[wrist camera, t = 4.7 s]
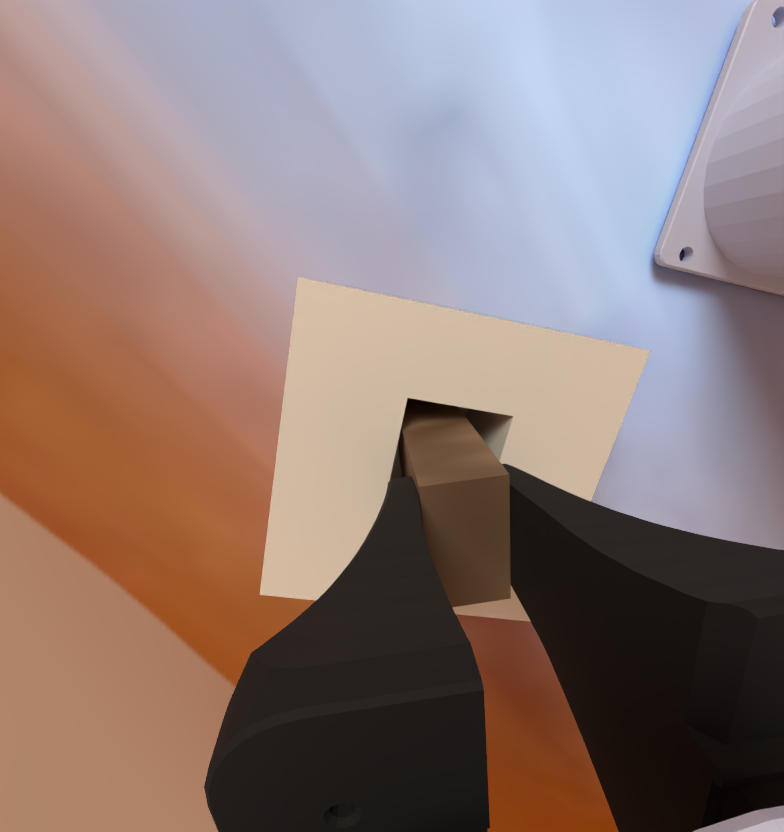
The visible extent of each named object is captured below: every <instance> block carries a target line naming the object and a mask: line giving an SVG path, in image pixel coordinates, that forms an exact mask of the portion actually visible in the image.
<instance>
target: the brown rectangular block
mask: <svg viewBox="0 0 784 832" xmlns="http://www.w3.org/2000/svg"><path fill="white" fill-rule="evenodd" d="M398 447H399V456H400V465H401V473H402V477H409V476H412V478H413V480H414V483H415V485H416V488H417V491H418V494H419V502H420V511H421V520H422V527H423V532H424V535H425V538H426V541H427V544H428V547H429V551H430V554H431V556H432V559H433V562H434V565H435V567H436V570H437V573H438V575H439V578H440V580H441V583H442V585H443V588H444V590H445V592H446V595H447V597H448V600H449V602H450V604H451V606H452V607H458V606H465V605H471V604H478V603H484V602H491V601H498V600H504V599H511V577H510V480H509V473H508V472H507V470H506V469H505V468H504V466H503V465H502V464H501V463H500V461H499V460H498V459H497V457H496V456H495V455H494V453H493V452H492V451H491V449H490V448H489V447H488V446H487V444H486V443H485V442H484V440H483V439H482V438H481V436H480V435H479V434H478V432H477V431H476V430H475V429H474V427H473V426H472V425H471V423H470V422H469V421H468V419H467V418H466V417H465V415H464V414H463V413H462V412H461V410H460V409H459V408H458V406H452V405H446V404H440V403H434V402H429V401H423V400H417V399H411V398H407V403H406V408H405V412H404V417H403V421H402V426H401V430H400V435H399V440H398Z"/></svg>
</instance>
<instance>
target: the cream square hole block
mask: <svg viewBox="0 0 784 832" xmlns="http://www.w3.org/2000/svg"><path fill="white" fill-rule="evenodd" d="M649 353H650V350H645V349H641V348H637V347H632V346H628V345H623V344H619V343H614V342H610V341H605V340H601V339H596V338H592V337H587V336H583V335H578V334H574V333H569V332H565V331H560V330H555V329H550V328H545V327H541V326H536V325H531V324H526V323H522V322H517V321H512V320H507V319H502V318H498V317H493V316H488V315H483V314H478V313H474V312H469V311H464V310H459V309H454V308H450V307H445V306H440V305H435V304H430V303H426V302H421V301H416V300H411V299H407V298H402V297H397V296H392V295H387V294H383V293H378V292H373V291H368V290H363V289H359V288H354V287H349V286H344V285H339V284H335V283H330V282H325V281H320V280H315V279H307V278H300V277H298V282H297V290H296V298H295V307H294V315H293V323H292V331H291V340H290V348H289V356H288V365H287V373H286V381H285V389H284V398H283V406H282V414H281V423H280V431H279V439H278V447H277V456H276V464H275V472H274V481H273V489H272V497H271V506H270V514H269V522H268V530H267V539H266V547H265V555H264V564H263V572H262V580H261V588H260V595H268V596H278V597H288V598H298V599H308V600H317V599H318V598H319V597H320V596H321V595H322V594H323V593H325V591H326V590H327V589H328V588H329V587H330V586H331V585H332V584H333V583H334V581H335V580H336V579H337V578H338V577H339V575H340V574H341V573H342V572H343V570H344V569H345V568H346V567H347V566H348V564H349V563H350V562H351V560H352V559H353V557H354V556H355V554H356V553H357V552H358V550H359V549H360V547H361V545H362V544H363V542H364V541H365V539H366V537H367V535H368V533H369V531H370V530H371V528H372V526H373V524H374V522H375V520H376V518H377V516H378V513H379V511H380V509H381V506H382V504H383V501H384V498H385V495H386V492H387V487H388V482H389V481H390V480H391V479H394V478H401V477H402V473H401V465H400V456H399V447H398V440H399V435H400V430H401V426H402V421H403V417H404V412H405V408H406V403H407V398H411V399H417V400H423V401H429V402H434V403H440V404H446V405H452V406H458V408H459V409H460V410H461V412H462V413H463V414H464V415H465V417H466V418H467V419H468V421H469V422H470V423H471V425H472V426H473V427H474V429H475V430H476V431H477V432H478V434H479V435H480V436H481V438H482V439H483V440H484V442H485V443H486V444H487V446H488V447H489V448H490V449H491V451H492V452H493V453H494V455H495V456H496V457H497V459H498V460H499V461H500V463H501V464H508V465H511V466H513V467H516V468H518V469H520V470H522V471H524V472H527V473H529V474H531V475H533V476H535V477H537V478H539V479H541V480H543V481H545V482H547V483H549V484H552V485H554V486H556V487H558V488H560V489H562V490H565V491H567V492H569V493H571V494H574V495H576V496H578V497H581V498H583V499H586V500H588V501H591V499H592V497H593V494H594V492H595V489H596V487H597V484H598V482H599V479H600V477H601V474H602V472H603V469H604V467H605V464H606V462H607V459H608V457H609V454H610V452H611V449H612V446H613V444H614V441H615V439H616V436H617V434H618V431H619V429H620V426H621V424H622V421H623V419H624V416H625V414H626V411H627V409H628V406H629V404H630V401H631V399H632V396H633V394H634V391H635V389H636V386H637V384H638V381H639V378H640V376H641V373H642V371H643V368H644V366H645V363H646V361H647V358H648V356H649ZM452 608H453V610H454V612H455V614H459V615H469V616H479V617H489V618H499V619H509V620H519V621H529V622H531V621H530V619H529V617H528V615H527V614H526V612H525V610H524V608H523V606H522V604H521V603H520V601H519V599H518V597H517V595H516V594H515V592H514V590H513V588H512V586H511V599H504V600H498V601H491V602H484V603H478V604H471V605H465V606H458V607H452Z"/></svg>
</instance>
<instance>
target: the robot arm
mask: <svg viewBox="0 0 784 832" xmlns="http://www.w3.org/2000/svg"><path fill="white" fill-rule="evenodd" d="M772 16H773V17H774V18H775V22H776V23H775V27H774V26H773V24H772ZM682 249H684V252H685V255H684V258H683V259H682V261H680V258H679V254H680V252H681V250H682ZM654 258H655V261H656V263H657V264H658V265H660V266H662V267H666V268H670V269H674V270H679V271H683V272H687V273H691V274H695V275H699V276H703V277H707V278H712V279H716V280H720V281H724V282H728V283H732V284H736V285H741V286H745V287H749V288H753V289H757V290H761V291H765V292H770V293H774V294H778V295H782V296H784V0H754V1H753V2H751V3H750V4H749V5H748V6H747V7H746V9H745V11H744V12H743V14H742V17H741V19H740V22H739V25H738V27H737V30H736V33H735V36H734V38H733V41H732V44H731V46H730V49H729V52H728V54H727V57H726V60H725V62H724V65H723V68H722V71H721V73H720V76H719V79H718V81H717V84H716V87H715V89H714V92H713V95H712V97H711V100H710V103H709V106H708V108H707V111H706V114H705V116H704V119H703V122H702V124H701V127H700V130H699V132H698V135H697V138H696V141H695V143H694V146H693V149H692V151H691V154H690V157H689V159H688V162H687V165H686V167H685V170H684V173H683V176H682V178H681V181H680V184H679V186H678V189H677V192H676V194H675V197H674V200H673V202H672V205H671V208H670V210H669V213H668V216H667V219H666V221H665V224H664V227H663V229H662V232H661V235H660V237H659V240H658V243H657V245H656V248H655V252H654ZM502 465H503V466H504V468H505V469H506V470H507V472H508V473H509V480H510V577H511V586H512V588H513V590H514V592H515V594H516V595H517V597H518V599H519V601H520V603H521V604H522V606H523V608H524V610H525V612H526V614H527V615H528V617H529V619H530V621H531V623H532V624H533V626H534V628H535V630H536V632H537V634H538V636H539V638H540V640H541V642H542V644H543V646H544V648H545V650H546V652H547V654H548V656H549V658H550V661H551V663H552V665H553V668H554V670H555V672H556V675H557V677H558V679H559V682H560V684H561V686H562V689H563V691H564V693H565V696H566V698H567V701H568V703H569V706H570V708H571V710H572V713H573V715H574V718H575V720H576V723H577V725H578V728H579V730H580V732H581V735H582V737H583V740H584V742H585V745H586V747H587V750H588V752H589V755H590V758H591V760H592V763H593V765H594V768H595V771H596V773H597V776H598V778H599V781H600V783H601V786H602V789H603V791H604V794H605V796H606V799H607V801H608V804H609V807H610V809H611V812H612V815H613V817H614V820H615V823H616V826H617V828H618V831H619V832H784V550H777V549H771V548H765V547H760V546H754V545H748V544H743V543H737V542H732V541H727V540H722V539H717V538H712V537H707V536H703V535H698V534H694V533H690V532H686V531H682V530H678V529H674V528H670V527H666V526H662V525H659V524H655V523H652V522H648V521H645V520H642V519H639V518H636V517H633V516H629V515H626V514H623V513H620V512H617V511H614V510H611V509H609V508H606V507H603V506H601V505H598V504H596V503H593V502H591V501H588V500H586V499H583V498H581V497H578V496H576V495H574V494H571V493H569V492H567V491H565V490H562V489H560V488H558V487H556V486H554V485H552V484H549V483H547V482H545V481H543V480H541V479H539V478H537V477H535V476H533V475H531V474H529V473H527V472H524V471H522V470H520V469H518V468H516V467H513V466H511V465H508V464H502ZM204 788H205V793H206V798H207V804H208V807H209V810H210V812H211V815H212V817H213V820H214V822H215V824H216V827H217V829H218V832H487V829H488V828H490V822H489V800H488V777H487V755H486V732H485V709H484V689H483V684H482V679H481V676H480V673H479V670H478V666H477V663H476V660H475V657H474V654H473V650H472V647H471V644H470V641H469V640H468V638H467V636H466V634H465V632H464V630H463V629H462V627H461V625H460V623H459V621H458V618H457V616H456V614H455V612H454V610H453V608H452V606H451V604H450V602H449V600H448V597H447V595H446V592H445V590H444V588H443V585H442V583H441V580H440V578H439V575H438V573H437V570H436V567H435V565H434V562H433V559H432V556H431V554H430V551H429V547H428V544H427V541H426V538H425V535H424V532H423V527H422V520H421V511H420V502H419V494H418V491H417V488H416V485H415V483H414V480H413V478H412V476H409V477H401V478H394V479H391V480H390V481H389V482H388V487H387V492H386V495H385V498H384V501H383V504H382V506H381V509H380V511H379V513H378V516H377V518H376V520H375V522H374V524H373V526H372V528H371V530H370V531H369V533H368V535H367V537H366V539H365V541H364V542H363V544H362V545H361V547H360V549H359V550H358V552H357V553H356V554H355V556H354V557H353V559H352V560H351V562H350V563H349V564H348V566H347V567H346V568H345V569H344V570H343V572H342V573H341V574H340V575H339V577H338V578H337V579H336V580H335V581H334V583H333V584H332V585H331V586H330V587H329V588H328V589H327V590H326V591H325V593H323V594H322V595H321V596H320V597H319V598H318V599H317V600H316V601H315V602H314V603H313V604H312V605H311V606H310V607H309V608H308V609H307V610H305V611H304V612H303V613H302V614H301V615H300V616H299V617H297V618H296V619H295V620H294V621H293V622H291V623H290V624H289V625H288V626H286V627H285V628H284V629H282V630H281V631H280V632H278V633H277V634H276V635H275V636H273V637H272V638H271V639H269V640H268V641H267V642H266V643H264V644H263V645H262V646H260V647H259V648H257V649H256V650H255V651H253V652H252V653H251V654H250V657H249V659H248V661H247V663H246V666H245V668H244V670H243V672H242V675H241V677H240V679H239V681H238V683H237V686H236V688H235V690H234V693H233V695H232V697H231V700H230V702H229V705H228V707H227V710H226V713H225V716H224V719H223V722H222V726H221V729H220V732H219V735H218V738H217V742H216V745H215V748H214V751H213V755H212V758H211V761H210V764H209V768H208V773H207V777H206V782H205V786H204Z"/></svg>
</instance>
